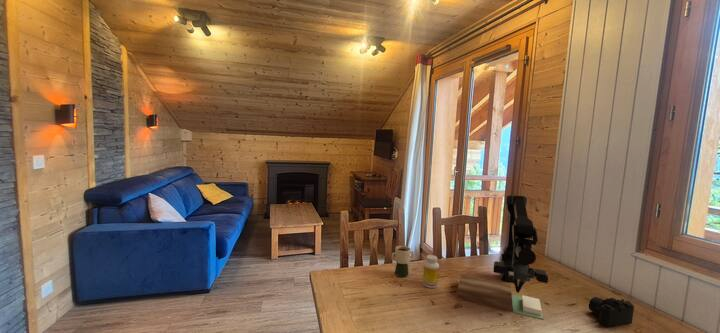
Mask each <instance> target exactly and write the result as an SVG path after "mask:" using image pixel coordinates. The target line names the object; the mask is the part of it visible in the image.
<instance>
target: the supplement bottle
mask: <svg viewBox="0 0 720 333" xmlns="http://www.w3.org/2000/svg"><path fill="white" fill-rule="evenodd" d="M439 275H440V264H439V262H438V256H436V255H434V254H428V255H426V260H425V261H424V263H423V274H422V285H423V286H424V287H426V288H428V289H435V288H437V287H438V286H439Z"/></svg>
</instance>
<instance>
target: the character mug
mask: <svg viewBox="0 0 720 333" xmlns="http://www.w3.org/2000/svg"><path fill="white" fill-rule="evenodd" d="M394 248H395V249H394V252H392V253H391V260H393V261H395V262H396V265H395V269H394V270H395V271H394V274H395V275H396V276H398V277H401V278H405V277H408V276H409V266H408V264H409V263H411V259H413V258H414V254H415V253H414V251H412V250H411V247H410V246H406V245H396V246H395V247H394Z"/></svg>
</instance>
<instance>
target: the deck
mask: <svg viewBox="0 0 720 333" xmlns="http://www.w3.org/2000/svg"><path fill="white" fill-rule="evenodd" d="M459 278H460V279H459V282H458V286H457V290H456V299H458V300H461V301H467V302H470V303H475V304H478V305H483V306H487V307H490V308H495V309H499V310H502V311H507V312H513V308H512V294H513V293H512V285H510V284H504V283H500V282H495V281H491V280H487V279H482V278H477V277H472V276H468V275H462V274H460V277H459Z"/></svg>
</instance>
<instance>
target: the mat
mask: <svg viewBox="0 0 720 333" xmlns="http://www.w3.org/2000/svg"><path fill="white" fill-rule="evenodd" d="M512 312H513V313H515V314H519V315H522V316H527V317H531V318H536V319H539V320H544V315H543V312H542V311H541V316H540V315H536V314H532V313H528V312H525V311H523V307H522V296H521V295H516V294H513V293H512Z"/></svg>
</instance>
